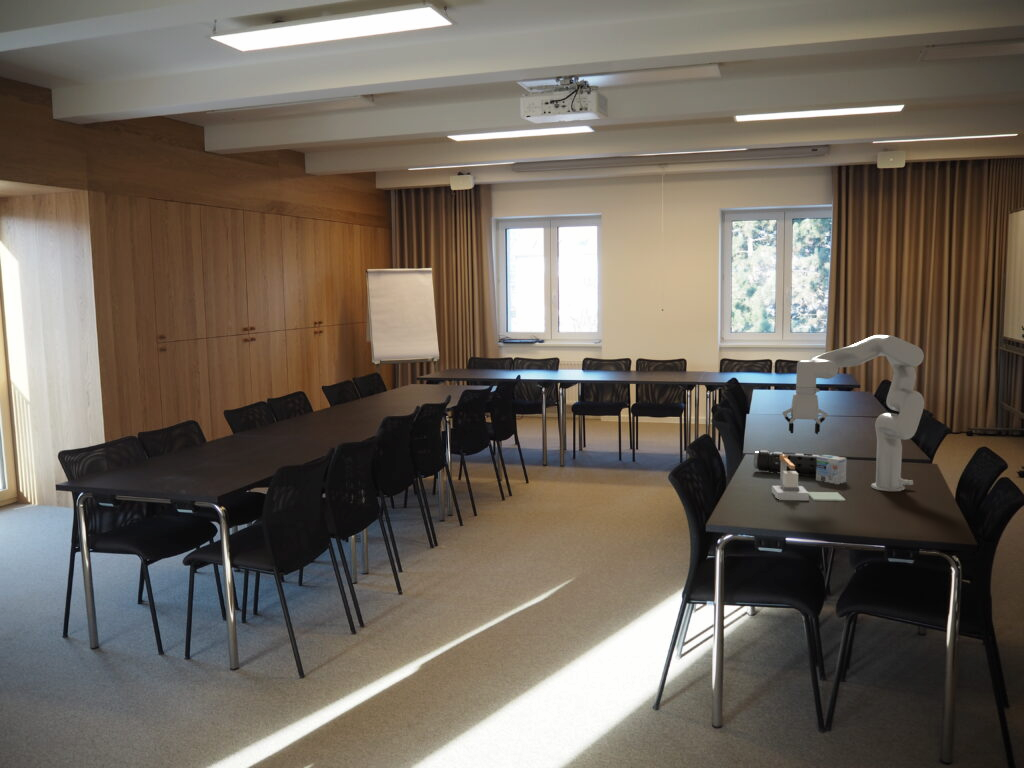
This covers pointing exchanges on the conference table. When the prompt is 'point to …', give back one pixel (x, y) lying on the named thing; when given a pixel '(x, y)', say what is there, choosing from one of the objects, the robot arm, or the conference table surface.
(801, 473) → the muzzle brake
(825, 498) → the mat
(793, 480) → the plug
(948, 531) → the conference table surface
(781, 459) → the wooden bar
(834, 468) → the light bulb box
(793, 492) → the socket block
